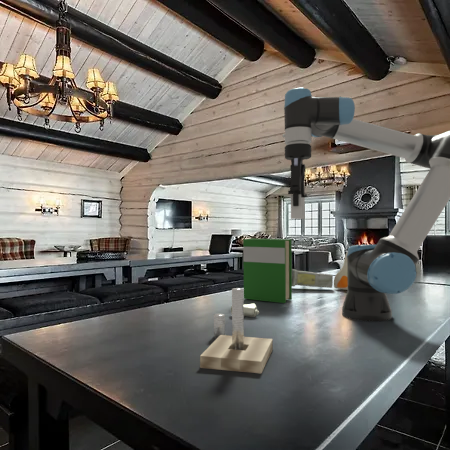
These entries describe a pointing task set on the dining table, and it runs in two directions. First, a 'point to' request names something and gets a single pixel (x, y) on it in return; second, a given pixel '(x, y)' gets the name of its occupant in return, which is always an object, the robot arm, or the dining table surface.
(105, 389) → the dining table surface
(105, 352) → the dining table surface
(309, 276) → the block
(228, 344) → the hole plate
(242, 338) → the long pin
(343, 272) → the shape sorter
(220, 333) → the short pin
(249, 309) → the pipe fitting
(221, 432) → the dining table surface
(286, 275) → the hardback book
